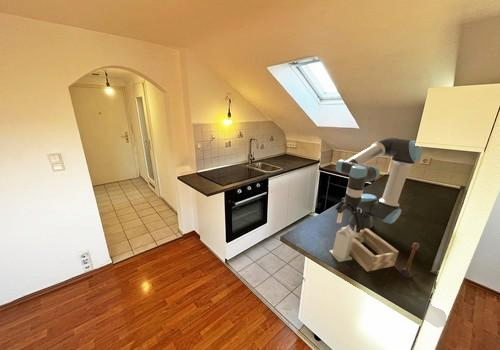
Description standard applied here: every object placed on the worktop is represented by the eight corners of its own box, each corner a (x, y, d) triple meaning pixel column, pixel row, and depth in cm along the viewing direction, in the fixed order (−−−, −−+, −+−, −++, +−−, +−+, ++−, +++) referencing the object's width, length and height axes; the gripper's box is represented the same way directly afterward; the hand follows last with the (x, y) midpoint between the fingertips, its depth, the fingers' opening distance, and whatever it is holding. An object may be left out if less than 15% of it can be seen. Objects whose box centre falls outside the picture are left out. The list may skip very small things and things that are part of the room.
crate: (364, 241, 134) (367, 228, 131) (393, 265, 114) (398, 251, 111) (340, 244, 130) (343, 231, 127) (367, 271, 110) (371, 256, 107)
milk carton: (332, 254, 121) (337, 226, 114) (337, 248, 126) (343, 221, 119) (344, 260, 116) (350, 232, 110) (349, 254, 121) (355, 227, 114)
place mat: (342, 248, 126) (342, 248, 126) (352, 259, 118) (352, 258, 118) (329, 251, 124) (329, 250, 124) (338, 261, 116) (338, 261, 116)
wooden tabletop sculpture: (402, 268, 113) (413, 238, 106) (412, 274, 109) (424, 243, 102) (398, 273, 109) (409, 242, 102) (408, 279, 106) (420, 247, 99)
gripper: (332, 186, 118) (327, 218, 126) (365, 207, 96) (357, 244, 103) (344, 185, 120) (338, 216, 128) (379, 205, 97) (369, 242, 105)
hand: (346, 229), depth 115 cm, fingers open, 13 cm apart
